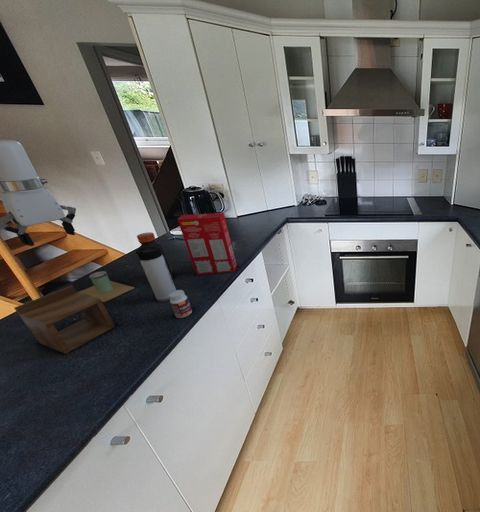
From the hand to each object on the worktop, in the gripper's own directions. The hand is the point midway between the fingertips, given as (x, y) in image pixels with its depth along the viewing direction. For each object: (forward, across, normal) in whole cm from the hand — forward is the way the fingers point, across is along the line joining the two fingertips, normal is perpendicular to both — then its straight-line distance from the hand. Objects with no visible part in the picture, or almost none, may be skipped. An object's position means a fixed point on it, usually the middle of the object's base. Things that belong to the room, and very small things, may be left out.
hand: (51, 239), depth 87 cm
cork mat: (+24, -7, 0) cm, 25 cm away
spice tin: (+24, -7, 0) cm, 24 cm away
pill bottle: (+24, -6, +40) cm, 47 cm away
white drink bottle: (+24, -20, +12) cm, 33 cm away
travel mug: (+24, -11, +25) cm, 36 cm away
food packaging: (+23, -33, +26) cm, 48 cm away
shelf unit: (+24, +12, +19) cm, 33 cm away
